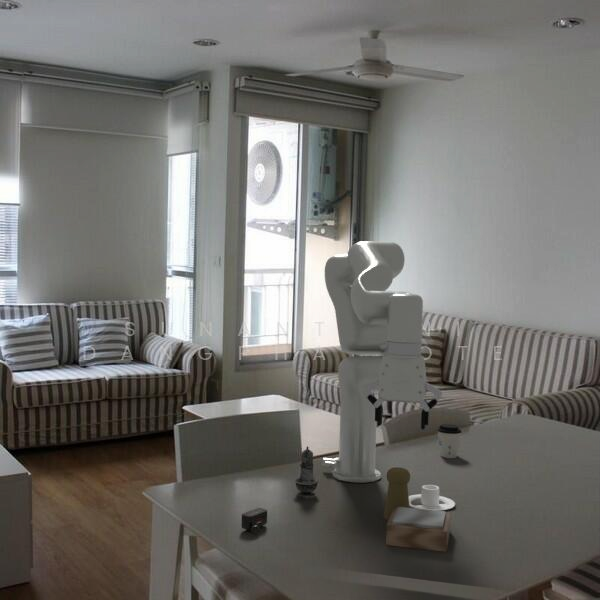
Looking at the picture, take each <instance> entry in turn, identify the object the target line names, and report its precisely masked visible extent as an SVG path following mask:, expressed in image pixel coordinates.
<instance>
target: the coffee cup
mask: <svg viewBox="0 0 600 600" xmlns="http://www.w3.org/2000/svg"><path fill="white" fill-rule="evenodd" d="M436 431H437V437H438V448H439V456H440V457H442V458H445V459H446V458H447V459H454V458H457V457H458V453H459V446H460V441H461V435H462V434H461V433H462V429H461V428H459V426H458V425H457V424H451V423H447V424H445V423H444V424H443V423H442V424H440V425H439V427H438V428H437V430H436Z"/></svg>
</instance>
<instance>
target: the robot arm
mask: <svg viewBox="0 0 600 600" xmlns="http://www.w3.org/2000/svg"><path fill="white" fill-rule="evenodd" d="M404 266H405V253H404V251H403V249H402V247H401V246H400V245H399V244H398V243H396V242H394V241H393V242H392V241H376V240H375V241H374V240H373V241H369V240H368V241H367V240H365V241H363V240H362V241H358V242H356V243H354V244H352V245H351V246H350V248H349V249H348V251H347V253H343V254H335V255H332V256H330V257H329V258H328V259H327V260H326V262H325V266H324V281H325V283H324V284H325V287H326V289H327V293H328V296H329V298H330V299H331V302H332V305H333V308H334V312H335V320H336V326H337V327H336V328H337V334H338V341H339V345H340V348H341V350H342V351H343V353H345V354H347V355H353V356H348V357H346V358H344V359H343V360H341V361H340V363H339V364H338V368H337V369H338V370H337V375H338V376H337V377H338V385H339V395H340V398H339V399H340V400H339V401H340V411H339V413H340V414H339V415H340V416H339V420H340V421H339V441H338V442H339V449H338V457H335V458H331V457H330V458H329V457H323V458H322V466H325V467H327V468H333V470H332V476H333V477H334V478H335V479H336V480H339V481H343V482H349V483H356V484H357V483H363V484H365V483H372V482H377V481H378V480H380V479H381V477H382V473H381V472H380V471H379V470H378V469H376V453H377V451H376V450H377V449H376V448H377V447H376V446H377V427H380V426H382V424H383V412H384V411H383V410H384V409H383V408H384V407H383V403H384V402H386V401H387V402H394V403H395V402H396V403H397V402H398V403H412V404H414V403H415V404H419V405H420V406H421V408H422V410H421V416H420V417H421V418H420V419H421V421H420V429H421V430H425V428H426V426H429V418H430V414H429V413H430V410H432V408H433V407H435V406H436V405H437V403H438V402H439V400H440V399H441V397H442V395H443V391H442V390H440V389H439V388H437V387H435V386H434V385H432V384H431V383H428V382H427V372H426V363H425V362H426V361H425V356H423V355H422V340H423V339H422V336H423V335H422V333H423V331H422V330H423V310H424V299H423V298H422V296H420V295H419V294H414V293H411V292H409V291H393V290H388V289H389V288H390V286H391V285H392V283H393V280H394V279H395V278H396V277H398V276H399V275H400V274H401V272H402V271H403V269H404ZM427 391H428V392H430V393H431V394H433V397H432V399H431V400H430V401H429V402H428V401H427V400H426V398H425V397H426V395H427V394H426V393H427ZM374 393H377V394H378V398H376V396H375V395H374Z"/></svg>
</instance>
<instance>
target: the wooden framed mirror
mask: <svg viewBox="0 0 600 600" xmlns="http://www.w3.org/2000/svg"><path fill="white" fill-rule="evenodd" d="M427 509H428V508H426V509H417V508H413V507H410V508H407V507H398V508H395V507H394V509H393V511H392V514H391V516H390V518H389V520H387V523H386V529H385V530H386V531H385V532H386V533H385V536H386V537H385V545H386V546H394V547H402V548H412V549H419V550H420V549H421V550H428V551H437V552H445V553H446V552H448V544H449V539H450V533H451V519H452V517H451V514H452V513H450V512H447V510H440V511H436V510H427Z"/></svg>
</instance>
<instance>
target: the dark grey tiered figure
mask: <svg viewBox="0 0 600 600" xmlns="http://www.w3.org/2000/svg"><path fill="white" fill-rule="evenodd" d="M299 467H300V474H299V477H297V478H294V480H293V481H294V484H295V487H296V489H297V490H298V492H296V493H295V494H294V495H295V497H296V498H299V499H304V500H305V499H306V500H309V499H315V498H317V497H316V496H318V494H317V493H316V492H314V491H315V490H316V489H317V487H318V483H319V481H320V480H318V479H317V478H315V477H314V467H315V463H314V452H313V451H312V450H310V449H309V446H308V445H307V447H306V449H304V450H303V451H302V452H301V462H300V464H299Z"/></svg>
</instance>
